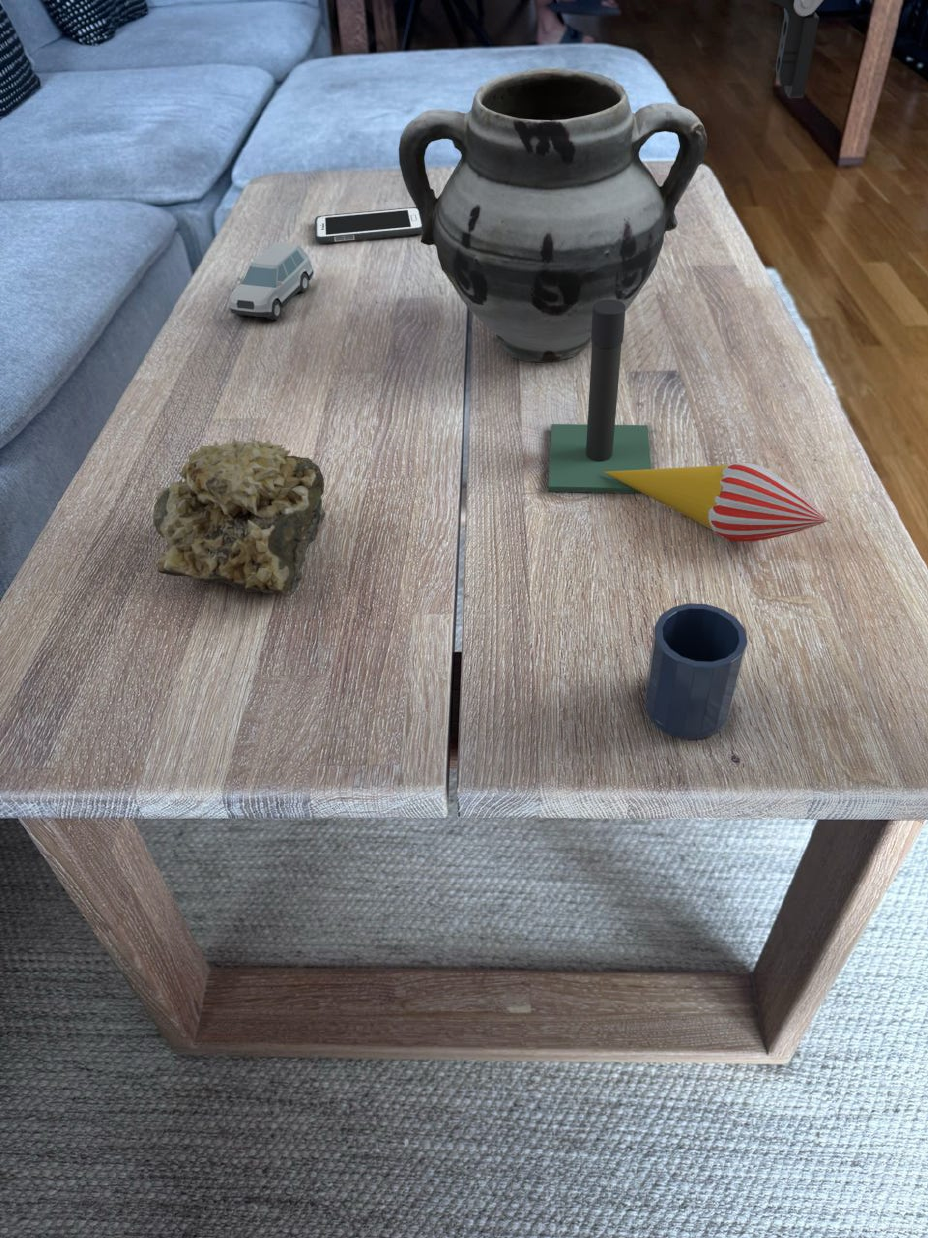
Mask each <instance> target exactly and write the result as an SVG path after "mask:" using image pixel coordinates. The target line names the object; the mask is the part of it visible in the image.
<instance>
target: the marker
mask: <svg viewBox="0 0 928 1238" xmlns="http://www.w3.org/2000/svg"><path fill="white" fill-rule="evenodd" d="M625 310H626V307H625V305H624V304H623V303H622V302H620V301H617V300H601V301H598V302H596V303H595V304H594V305H593V313H592V331H591V339H590V343H591V355H590V371H589V372H590V374H589V387H588V389H589V390H588V406H587V408H588V409H587V410H588V411H587V421H586V422H587V423H586V425H587V440H586V456H587V457H588V458H589V459H591V460H593V461H606V460H608V459H610V458H611V457H612V454H613V441H614V429H615V425H616V417H617V415H616V414H617V404H618V391H619V381H620V380H619V379H620V368H621V354H622V344H623V342H624V334H625V322H626V321H625V320H626V311H627V310H626V311H625Z"/></svg>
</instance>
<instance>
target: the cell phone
mask: <svg viewBox="0 0 928 1238" xmlns="http://www.w3.org/2000/svg"><path fill="white" fill-rule="evenodd" d="M418 234H419V235H420V234H422V220H421V216H420V213H419V211H418V209H417V207H416V206H410V207H409V206H408V207H401V208H400V207H398V208H387V209H378V210H377V209H376V210H366V211H355V212H345V213H333V214H324V215H318V216H316V217H315V218H314V240H315V242H316V243H318V244H327V243H328V244H329V243H335V242H337V243H338V242H346V241H360V240H371V239H381V238H391V237H402V236H403V237H404V236H413V235H418Z"/></svg>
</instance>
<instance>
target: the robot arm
mask: <svg viewBox="0 0 928 1238" xmlns="http://www.w3.org/2000/svg"><path fill="white" fill-rule="evenodd" d="M763 1H764V2H766V3H767V2H769V3H773V4H775V5H777V6H779V7H782V8H783V12H784V13H783V21H782V27H781V33H780V39H779V45H778V51H777V57H776V62H775V67H774V68H775V74H776V78H777V80H778V82H779V85H780V86H781V87H784V92H785V94H786V96H787V98H788V99H803V98H804V96H805V94H806V89H807V83H808V80H809V79H808V78H809V74H810V69H811V68H810V67H811V63H812V57H813V53H814V47H815V42H816V38H817V31H818V26H819V21H820V17H819V16H818V14H817V12H816V10H817V8H818V7H820V5H821V4H822V2H824V0H763Z"/></svg>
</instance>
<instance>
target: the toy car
mask: <svg viewBox="0 0 928 1238" xmlns="http://www.w3.org/2000/svg"><path fill="white" fill-rule="evenodd" d="M314 273H315V271H314V268H313V265H312V263H311V260H310V257H309V255H308V254H307V253H306V251H305V250H304V249H303V248H302V247H301V245H300V244H297V243H287V242H274V243H273V244H271V245H270V246H269V247H268V248H267V249H266V250H264V251H263V252H262V253H261V254H260V255H258V256H257V258H255V259H254V260H253V261H251V263H250V265H249V266H248V269H247V271H246V273H245V275H244V278H242V277H241V276H237V277H236V280H237V282H241V283H240V284H238V285H237V286H236V287H234V289H233V290H232V291H231V293H230V295H229V308H230V313H231V314H232V315H233V314H235V315H236V316H238V317H247V316H248V317H249V316H250V317H259V318H266V319H267V320H270V321H277V320H279V319H280V318H281V315H282V308H284V307H285V306H286V305H287V304H288V303H289V302H290V301H291V300H292V299H293V298H294V297H295V296H296V295H297V294H298V293H306V292H307V290H308V289H309V285H310V283H309V282H310V281H311V279H312V278H313V275H314Z"/></svg>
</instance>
